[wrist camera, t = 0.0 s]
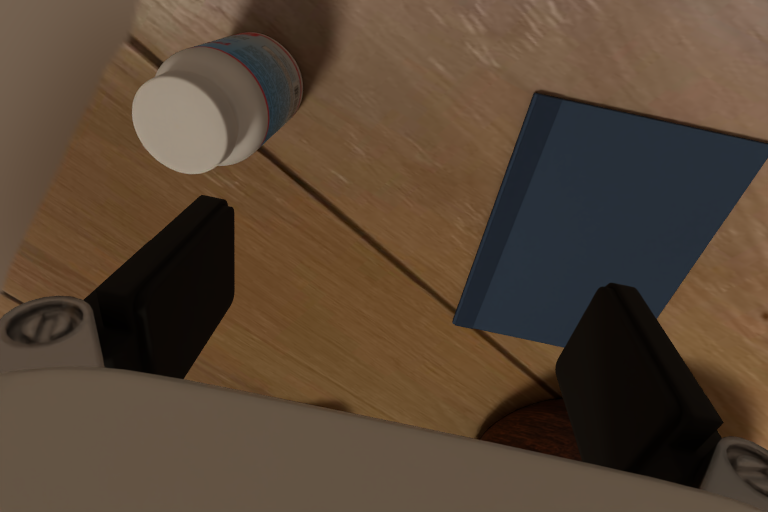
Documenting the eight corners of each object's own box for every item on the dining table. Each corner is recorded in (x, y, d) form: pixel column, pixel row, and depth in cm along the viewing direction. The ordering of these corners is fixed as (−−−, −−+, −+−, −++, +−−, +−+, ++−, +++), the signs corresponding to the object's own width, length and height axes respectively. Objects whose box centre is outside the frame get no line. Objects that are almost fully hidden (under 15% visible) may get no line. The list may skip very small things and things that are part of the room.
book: (534, 92, 28) (535, 93, 28) (772, 144, 29) (777, 146, 28) (452, 320, 39) (452, 324, 39) (626, 357, 39) (628, 361, 39)
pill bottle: (251, 8, 28) (154, 23, 18) (322, 83, 30) (269, 131, 20) (200, 79, 30) (92, 123, 21) (269, 143, 32) (199, 210, 23)
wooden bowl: (715, 498, 49) (775, 610, 40) (499, 531, 57) (510, 630, 48) (673, 344, 38) (742, 451, 29) (414, 412, 46) (408, 511, 38)
